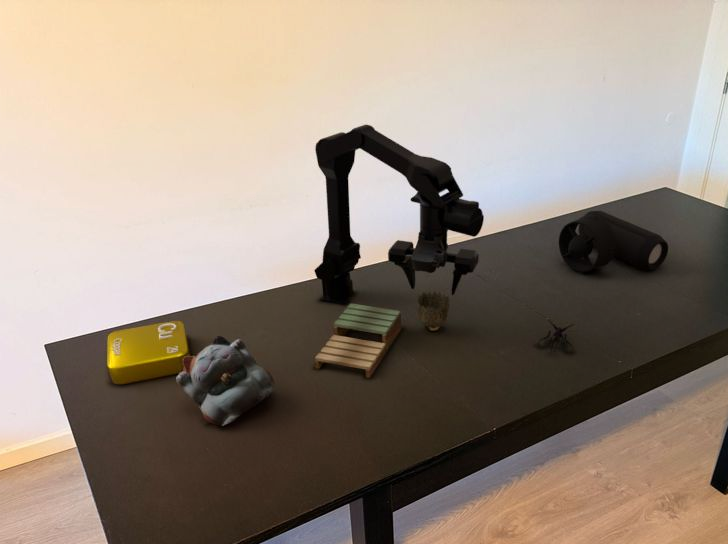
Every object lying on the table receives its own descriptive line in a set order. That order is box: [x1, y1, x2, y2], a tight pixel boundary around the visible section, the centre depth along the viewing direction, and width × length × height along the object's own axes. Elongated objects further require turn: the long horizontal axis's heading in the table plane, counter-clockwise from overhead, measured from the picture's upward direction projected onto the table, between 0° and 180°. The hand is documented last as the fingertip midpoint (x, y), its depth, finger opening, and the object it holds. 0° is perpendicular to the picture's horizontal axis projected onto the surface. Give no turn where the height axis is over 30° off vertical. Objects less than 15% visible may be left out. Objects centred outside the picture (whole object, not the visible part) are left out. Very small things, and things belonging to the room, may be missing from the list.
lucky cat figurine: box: [175, 335, 275, 427], centre depth 122 cm, size 15×12×14 cm
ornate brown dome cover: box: [416, 290, 451, 333], centre depth 147 cm, size 8×7×8 cm
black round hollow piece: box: [558, 214, 616, 274], centre depth 173 cm, size 14×14×10 cm
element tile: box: [106, 320, 191, 385], centre depth 135 cm, size 15×15×5 cm
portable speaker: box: [578, 210, 669, 271], centre depth 182 cm, size 26×10×10 cm, turn 36°
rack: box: [314, 303, 402, 379], centre depth 141 cm, size 12×20×5 cm, turn 165°
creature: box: [537, 319, 575, 354], centre depth 143 cm, size 8×5×8 cm
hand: (433, 291), depth 144 cm, fingers open, 9 cm apart
